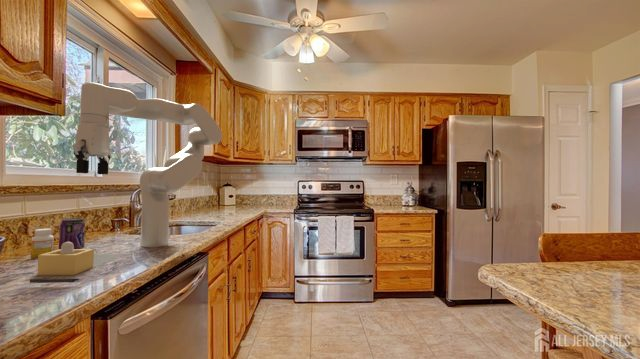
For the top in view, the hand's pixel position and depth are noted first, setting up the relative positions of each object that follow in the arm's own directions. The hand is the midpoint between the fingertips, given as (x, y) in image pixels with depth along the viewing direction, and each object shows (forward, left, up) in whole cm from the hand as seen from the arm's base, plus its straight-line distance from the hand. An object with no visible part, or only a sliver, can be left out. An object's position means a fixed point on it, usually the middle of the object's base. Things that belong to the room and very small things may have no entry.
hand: (93, 173), depth 96 cm
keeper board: (+10, +5, -28) cm, 30 cm away
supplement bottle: (-2, -16, -28) cm, 33 cm away
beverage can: (-12, -14, -28) cm, 34 cm away
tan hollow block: (+17, +5, -27) cm, 32 cm away
